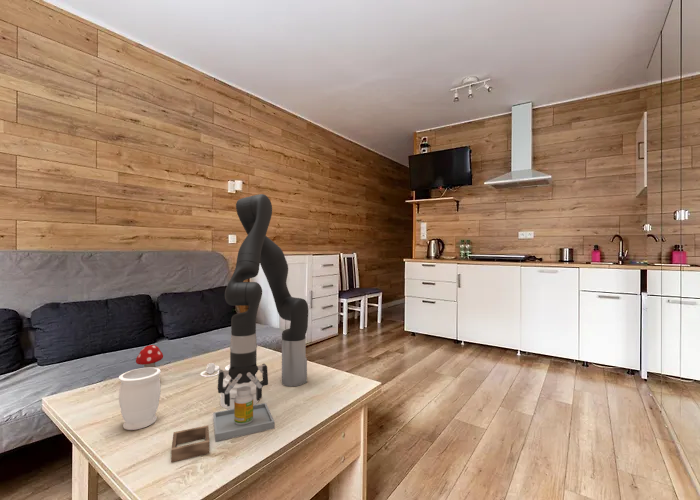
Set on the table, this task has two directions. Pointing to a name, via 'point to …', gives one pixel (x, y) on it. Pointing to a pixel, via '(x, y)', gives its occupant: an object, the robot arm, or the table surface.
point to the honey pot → (234, 391)
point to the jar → (139, 397)
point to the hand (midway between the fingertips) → (243, 402)
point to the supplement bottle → (243, 406)
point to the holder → (190, 449)
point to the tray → (230, 429)
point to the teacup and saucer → (210, 370)
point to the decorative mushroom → (149, 356)
